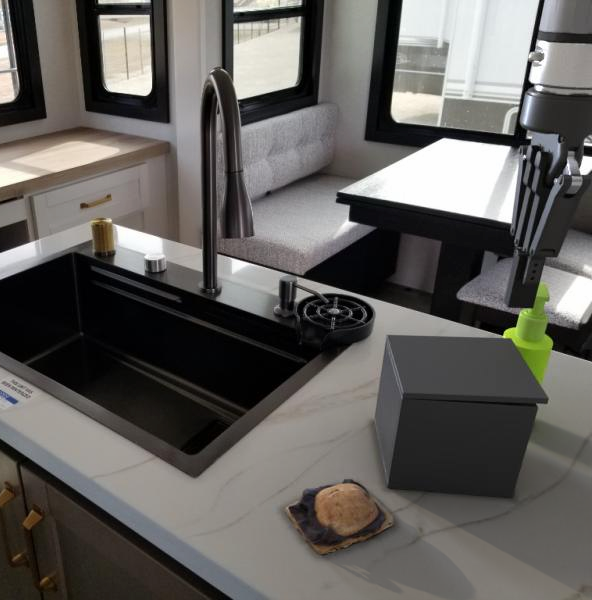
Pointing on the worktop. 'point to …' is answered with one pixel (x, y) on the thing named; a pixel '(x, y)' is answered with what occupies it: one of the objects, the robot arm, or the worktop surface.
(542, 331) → the soap dispenser
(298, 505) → the bread roll
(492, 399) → the box lid
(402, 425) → the grey lidded box
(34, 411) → the worktop surface
